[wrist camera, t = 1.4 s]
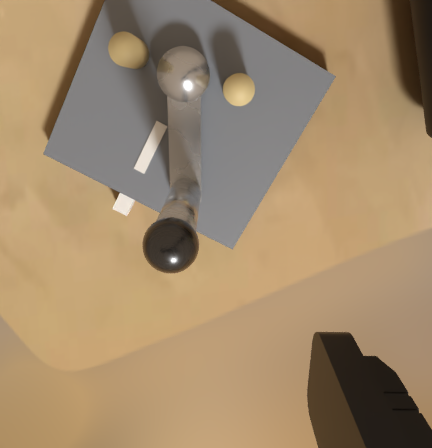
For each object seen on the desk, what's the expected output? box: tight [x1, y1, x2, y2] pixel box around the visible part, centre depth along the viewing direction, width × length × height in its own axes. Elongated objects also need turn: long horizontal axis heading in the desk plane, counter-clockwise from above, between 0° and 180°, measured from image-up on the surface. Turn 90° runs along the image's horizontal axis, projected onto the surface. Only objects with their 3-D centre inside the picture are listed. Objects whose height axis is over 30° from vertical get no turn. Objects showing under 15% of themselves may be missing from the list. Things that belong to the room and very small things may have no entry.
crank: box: [143, 46, 210, 273], centre depth 19 cm, size 9×3×10 cm, turn 0°
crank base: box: [43, 0, 336, 249], centre depth 23 cm, size 13×13×4 cm
